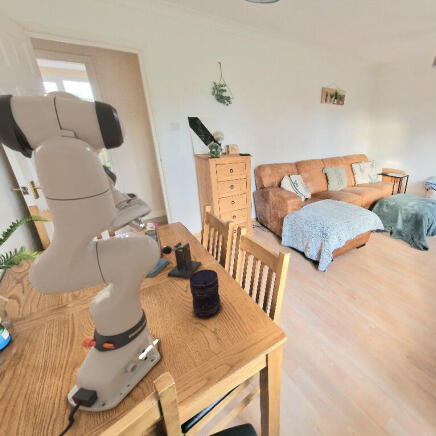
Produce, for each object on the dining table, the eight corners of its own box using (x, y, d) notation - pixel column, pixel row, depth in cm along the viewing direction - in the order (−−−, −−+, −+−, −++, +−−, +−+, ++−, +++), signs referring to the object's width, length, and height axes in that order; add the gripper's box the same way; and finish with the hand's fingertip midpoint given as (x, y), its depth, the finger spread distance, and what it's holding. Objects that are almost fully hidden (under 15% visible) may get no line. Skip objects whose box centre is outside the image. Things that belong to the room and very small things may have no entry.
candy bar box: (161, 258, 122) (156, 230, 116) (150, 260, 120) (144, 231, 114) (162, 248, 132) (157, 221, 125) (152, 250, 130) (146, 222, 123)
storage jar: (192, 304, 94) (187, 273, 88) (217, 297, 98) (214, 266, 92) (195, 322, 85) (190, 289, 80) (223, 314, 90) (220, 281, 84)
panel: (153, 277, 108) (151, 269, 107) (133, 274, 109) (131, 267, 108) (169, 262, 119) (167, 256, 118) (150, 260, 120) (149, 253, 119)
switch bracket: (188, 278, 108) (184, 252, 103) (168, 276, 109) (163, 250, 104) (201, 264, 119) (198, 239, 114) (182, 262, 120) (178, 237, 115)
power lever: (167, 255, 97) (168, 246, 97) (159, 254, 97) (160, 245, 97) (186, 252, 111) (187, 244, 111) (179, 251, 111) (180, 243, 111)
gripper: (95, 207, 83) (127, 235, 86) (138, 192, 102) (163, 215, 104) (87, 218, 85) (119, 245, 88) (131, 201, 104) (155, 223, 107)
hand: (143, 228), depth 96 cm, fingers closed
